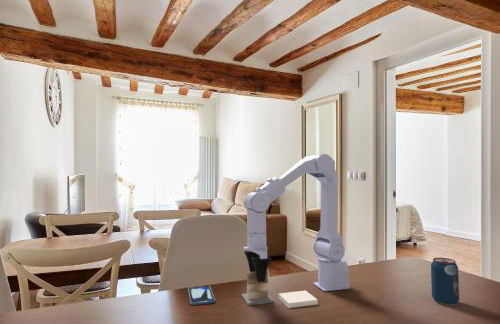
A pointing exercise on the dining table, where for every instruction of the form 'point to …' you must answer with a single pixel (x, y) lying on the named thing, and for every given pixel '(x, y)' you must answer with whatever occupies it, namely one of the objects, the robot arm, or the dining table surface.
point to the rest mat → (257, 300)
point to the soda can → (445, 281)
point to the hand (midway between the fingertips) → (257, 277)
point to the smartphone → (201, 295)
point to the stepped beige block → (256, 286)
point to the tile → (297, 299)
